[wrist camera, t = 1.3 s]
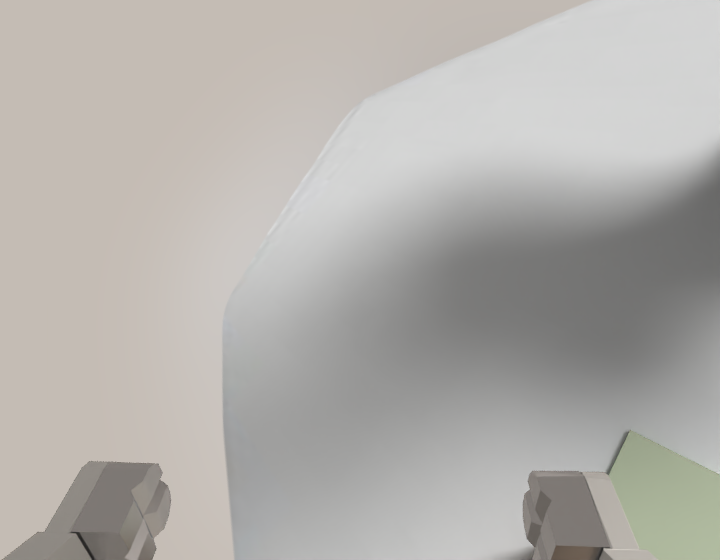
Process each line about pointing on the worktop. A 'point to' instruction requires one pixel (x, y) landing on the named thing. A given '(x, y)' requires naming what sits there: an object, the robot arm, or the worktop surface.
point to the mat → (668, 501)
